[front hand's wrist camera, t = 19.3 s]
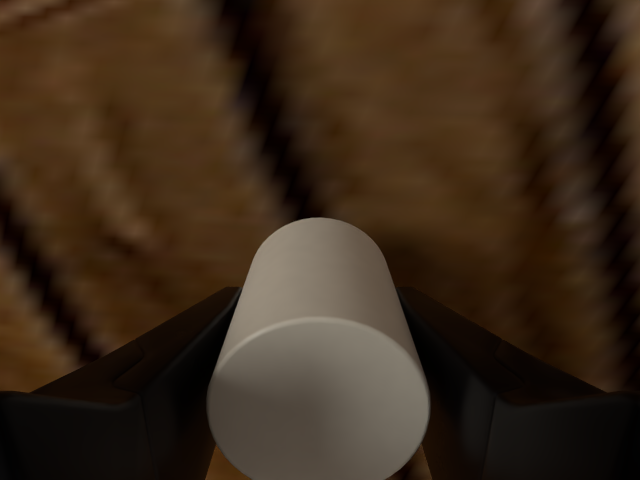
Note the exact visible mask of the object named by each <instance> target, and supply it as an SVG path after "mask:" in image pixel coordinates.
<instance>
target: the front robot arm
mask: <svg viewBox="0 0 640 480" xmlns="http://www.w3.org/2000/svg"><path fill="white" fill-rule="evenodd" d="M242 290H243V289H242V288H241V287H225V288H224V289H222V290H220V291H218V292H217V293H215V294H213V295H211V296H210V297H208V298H206V299H204V300H203V301H201V302H199V303H197V304H196V305H194V306H192V307H190V308H189V309H187V310H185V311H183V312H182V313H180V314H178V315H176V316H175V317H173V318H171V319H169V320H168V321H166V322H164V323H162V324H161V325H159V326H157V327H155V328H154V329H152V330H150V331H148V332H147V333H145V334H143V335H141V336H140V337H138V338H136V339H135V340H133V341H131V342H129V343H127V344H126V345H124V346H122V347H120V348H119V349H117V350H115V351H113V352H111V353H109V354H108V355H106V356H104V357H102V358H100V359H98V360H96V361H94V362H92V363H90V364H88V365H86V366H84V367H82V368H80V369H78V370H76V371H73V372H71V373H69V374H67V375H65V376H63V377H61V378H59V379H57V380H55V381H53V382H51V383H49V384H46V385H44V386H42V387H40V388H38V389H36V390H34V391H32V392H30V393H25V392H18V391H0V480H205V478H206V475H207V472H208V468H209V465H210V462H211V458H212V455H213V452H214V449H215V445H216V442H215V440H214V438H213V436H212V433H211V430H210V427H209V424H208V419H207V413H206V397H207V391H208V386H209V383H210V380H211V378H212V375H213V372H214V369H215V366H216V363H217V361H218V358H219V355H220V352H221V349H222V346H223V344H224V341H225V338H226V335H227V332H228V329H229V327H230V324H231V321H232V318H233V315H234V312H235V310H236V307H237V304H238V301H239V298H240V295H241V293H242ZM396 292H397V295H398V298H399V301H400V304H401V307H402V310H403V313H404V316H405V318H406V321H407V324H408V327H409V330H410V333H411V336H412V339H413V342H414V345H415V348H416V351H417V353H418V356H419V359H420V362H421V365H422V368H423V371H424V374H425V377H426V380H427V383H428V387H429V390H430V397H431V414H430V420H429V424H428V428H427V431H426V434H425V436H424V439H423V441H422V446H423V449H424V453H425V456H426V459H427V463H428V466H429V469H430V473H431V476H432V479H433V480H640V391H617V392H610V393H607V392H605V391H603V390H601V389H599V388H596V387H594V386H592V385H590V384H588V383H586V382H584V381H582V380H580V379H578V378H576V377H574V376H572V375H570V374H568V373H566V372H563V371H561V370H559V369H557V368H555V367H553V366H551V365H549V364H547V363H545V362H543V361H541V360H539V359H537V358H535V357H533V356H531V355H530V354H528V353H526V352H524V351H522V350H521V349H519V348H517V347H515V346H513V345H512V344H510V343H508V342H507V341H505V340H502V339H501V338H500V337H498V336H496V335H494V334H493V333H491V332H489V331H487V330H486V329H484V328H482V327H480V326H479V325H477V324H475V323H473V322H472V321H470V320H468V319H467V318H465V317H463V316H461V315H460V314H458V313H456V312H454V311H453V310H451V309H449V308H447V307H446V306H444V305H442V304H441V303H439V302H437V301H435V300H434V299H432V298H430V297H428V296H427V295H425V294H423V293H421V292H420V291H418V290H416V289H415V288H413V287H397V288H396Z"/></svg>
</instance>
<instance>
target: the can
mask: <svg viewBox="0 0 640 480" xmlns="http://www.w3.org/2000/svg"><path fill="white" fill-rule="evenodd" d="M206 413H207V419H208V424H209V427H210V430H211V433H212V436H213V438H214V440H215V442H216V444H217V446H218V448H219V449H220V450H221V452H222V453H223V455H224V456H225V457H226V458H227V459H228V460H229V461H230V463H231V464H232V465H233V466H235V467H236V468H237V469H238V470H239V471H241V472H242V473H243V474H245V475H246V476H248V477H249V478H251V479H252V480H385V479H386V478H388V477H390V476H391V475H393V474H394V473H395V472H397V471H398V470H399V469H401V468H402V467H403V466H404V465H405V464H406V463H407V462H408V461H409V460H410V459H411V457H412V456H413V455H414V454H415V452H416V451H417V449H418V448H419V446H420V444H421V443H422V441H423V439H424V436H425V434H426V431H427V428H428V424H429V420H430V414H431V397H430V390H429V387H428V383H427V380H426V377H425V374H424V371H423V368H422V365H421V362H420V359H419V356H418V353H417V351H416V348H415V345H414V342H413V339H412V336H411V333H410V330H409V327H408V324H407V321H406V318H405V316H404V313H403V310H402V307H401V304H400V301H399V298H398V295H397V292H396V289H395V286H394V284H393V281H392V278H391V275H390V272H389V269H388V266H387V263H386V261H385V258H384V256H383V254H382V252H381V251H380V249H379V247H378V246H377V245H376V243H375V242H374V241H373V240H372V239H371V238H370V237H369V236H368V235H367V234H366V233H364V232H363V231H361V230H360V229H358V228H357V227H355V226H353V225H351V224H348V223H346V222H343V221H340V220H335V219H330V218H309V219H302V220H299V221H295V222H292V223H290V224H288V225H285V226H283V227H282V228H280V229H278V230H277V231H275V232H274V233H273V234H272V235H270V236H269V237H268V238H267V239H266V240H265V241H264V242H263V244H262V245H261V246H260V248H259V249H258V251H257V253H256V255H255V256H254V259H253V261H252V264H251V267H250V270H249V273H248V276H247V278H246V281H245V284H244V287H243V290H242V293H241V295H240V298H239V301H238V304H237V307H236V310H235V312H234V315H233V318H232V321H231V324H230V327H229V329H228V332H227V335H226V338H225V341H224V344H223V346H222V349H221V352H220V355H219V358H218V361H217V363H216V366H215V369H214V372H213V375H212V378H211V380H210V383H209V386H208V391H207V397H206Z"/></svg>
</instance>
